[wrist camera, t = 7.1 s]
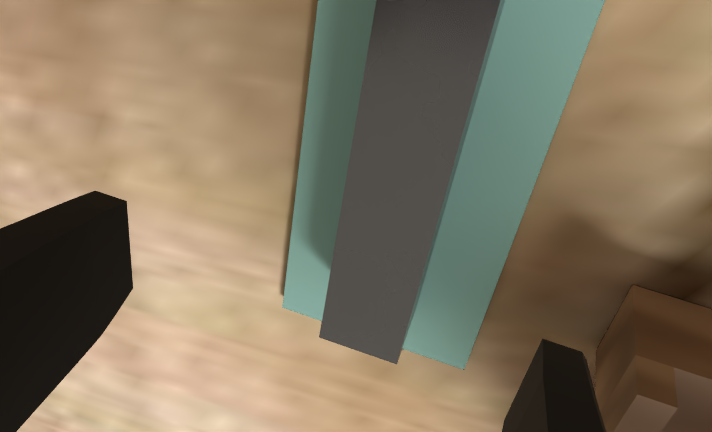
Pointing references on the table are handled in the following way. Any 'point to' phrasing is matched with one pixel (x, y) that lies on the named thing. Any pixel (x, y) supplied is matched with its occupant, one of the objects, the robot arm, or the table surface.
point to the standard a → (656, 366)
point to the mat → (474, 171)
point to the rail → (403, 163)
